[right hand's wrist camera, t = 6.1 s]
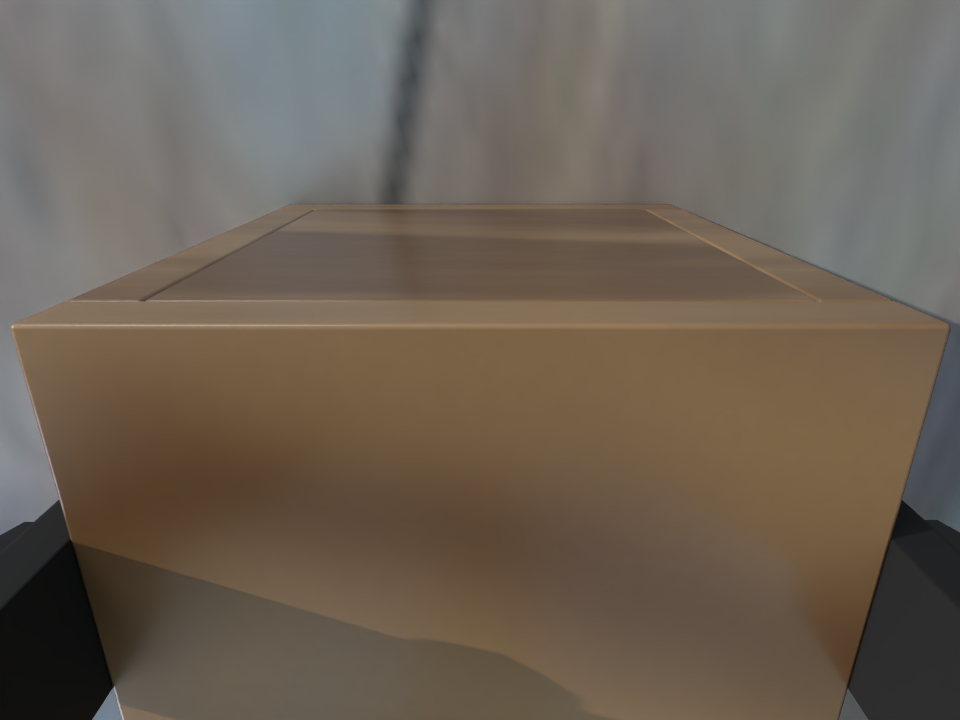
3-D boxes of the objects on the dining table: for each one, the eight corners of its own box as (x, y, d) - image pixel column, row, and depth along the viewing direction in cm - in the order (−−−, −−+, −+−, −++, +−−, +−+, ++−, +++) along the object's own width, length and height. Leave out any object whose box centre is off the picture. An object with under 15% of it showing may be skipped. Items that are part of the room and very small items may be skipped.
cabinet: (615, 728, 25) (712, 1165, 15) (345, 728, 25) (248, 1165, 15) (672, 204, 18) (956, 324, 7) (288, 203, 18) (6, 324, 7)
